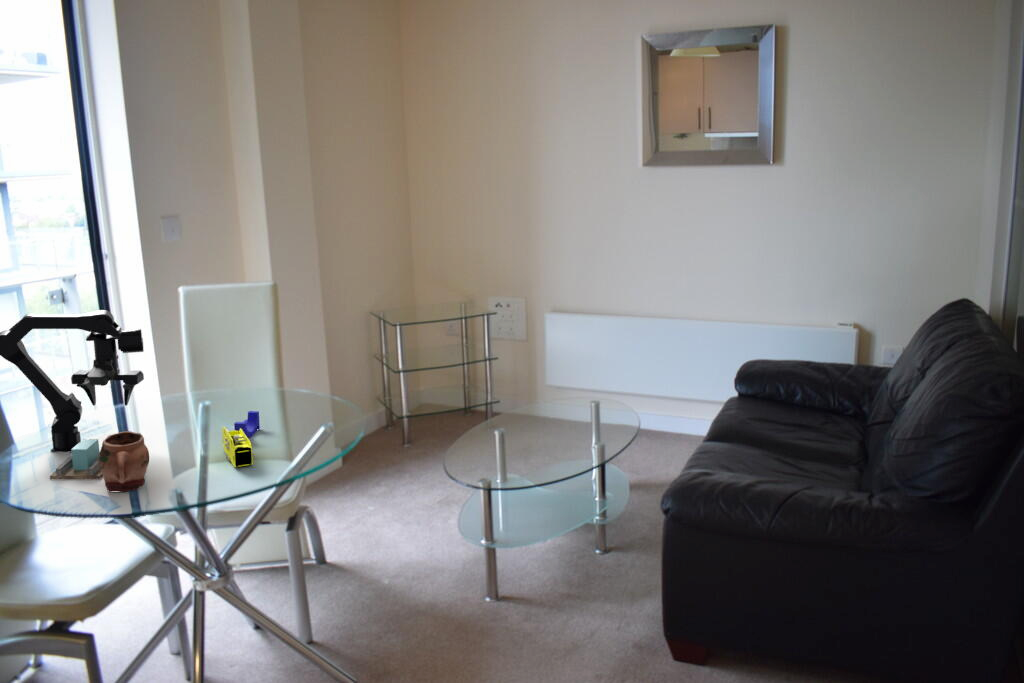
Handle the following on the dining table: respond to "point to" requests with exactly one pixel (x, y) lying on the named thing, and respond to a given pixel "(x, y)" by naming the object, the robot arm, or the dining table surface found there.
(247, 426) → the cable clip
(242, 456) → the yellow toy chassis
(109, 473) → the decorative planter
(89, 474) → the rail board
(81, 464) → the teal rectangular block
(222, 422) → the dining table surface
